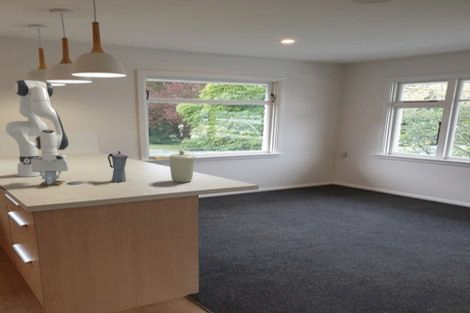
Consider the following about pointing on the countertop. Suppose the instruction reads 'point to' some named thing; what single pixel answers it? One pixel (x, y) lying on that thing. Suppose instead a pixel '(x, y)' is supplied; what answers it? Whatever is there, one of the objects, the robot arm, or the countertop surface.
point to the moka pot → (118, 166)
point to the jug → (50, 177)
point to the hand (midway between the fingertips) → (51, 178)
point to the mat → (75, 183)
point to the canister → (181, 167)
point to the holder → (51, 184)
